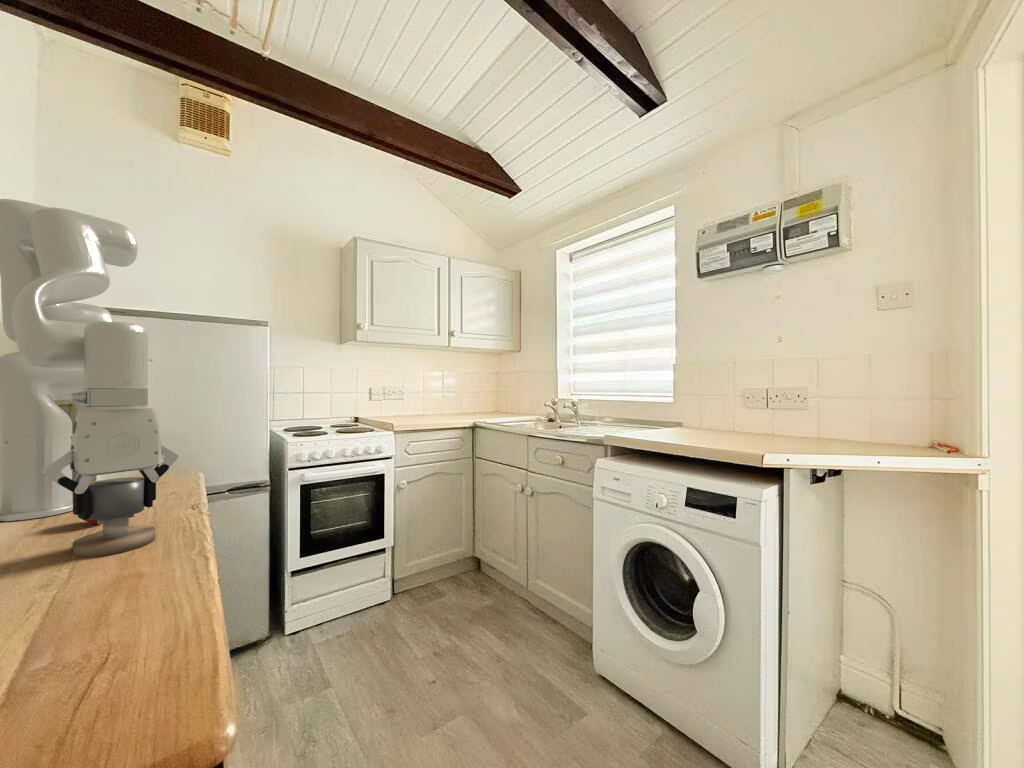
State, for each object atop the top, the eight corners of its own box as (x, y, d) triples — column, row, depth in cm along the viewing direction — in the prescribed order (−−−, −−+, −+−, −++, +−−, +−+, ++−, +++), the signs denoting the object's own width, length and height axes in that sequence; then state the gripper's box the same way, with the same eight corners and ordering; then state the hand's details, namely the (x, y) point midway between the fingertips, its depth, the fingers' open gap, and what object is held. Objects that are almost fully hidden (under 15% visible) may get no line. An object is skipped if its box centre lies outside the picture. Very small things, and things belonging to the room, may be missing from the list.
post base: (63, 549, 66) (63, 516, 66) (141, 530, 74) (141, 502, 74) (84, 562, 61) (84, 527, 61) (165, 541, 69) (165, 510, 69)
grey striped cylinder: (74, 521, 63) (74, 487, 63) (109, 506, 71) (109, 476, 71) (128, 517, 65) (128, 484, 65) (157, 503, 73) (157, 473, 73)
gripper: (43, 402, 58) (42, 532, 58) (191, 398, 73) (191, 502, 73) (29, 401, 62) (29, 523, 62) (172, 398, 77) (172, 496, 77)
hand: (116, 511), depth 67 cm, fingers closed on grey striped cylinder, 6 cm apart
